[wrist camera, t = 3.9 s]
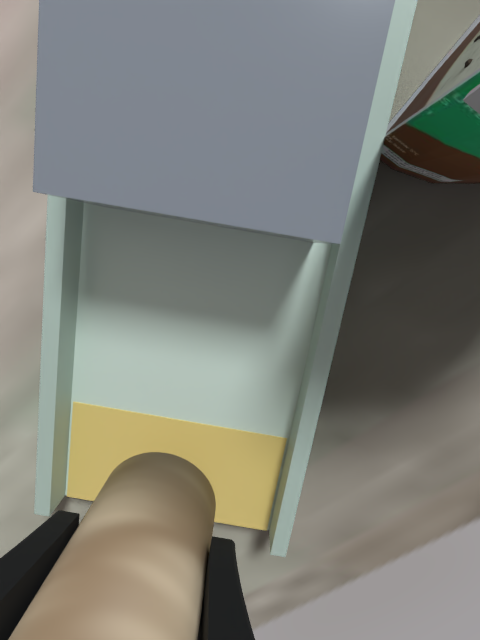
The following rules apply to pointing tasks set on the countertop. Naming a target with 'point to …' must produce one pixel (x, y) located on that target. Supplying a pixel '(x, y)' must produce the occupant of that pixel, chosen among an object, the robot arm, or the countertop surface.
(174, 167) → the slab
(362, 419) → the countertop surface
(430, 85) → the food container
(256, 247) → the runway
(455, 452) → the countertop surface
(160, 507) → the roller pin
